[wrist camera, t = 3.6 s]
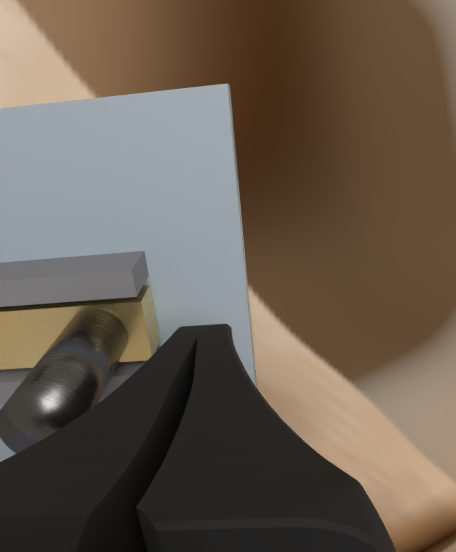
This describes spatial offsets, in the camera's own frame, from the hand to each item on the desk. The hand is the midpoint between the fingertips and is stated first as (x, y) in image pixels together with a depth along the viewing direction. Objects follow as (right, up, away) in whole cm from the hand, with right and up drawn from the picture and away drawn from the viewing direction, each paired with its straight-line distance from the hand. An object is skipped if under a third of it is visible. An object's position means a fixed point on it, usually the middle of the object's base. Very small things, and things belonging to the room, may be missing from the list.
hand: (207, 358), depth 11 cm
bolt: (-6, +1, +3) cm, 7 cm away
